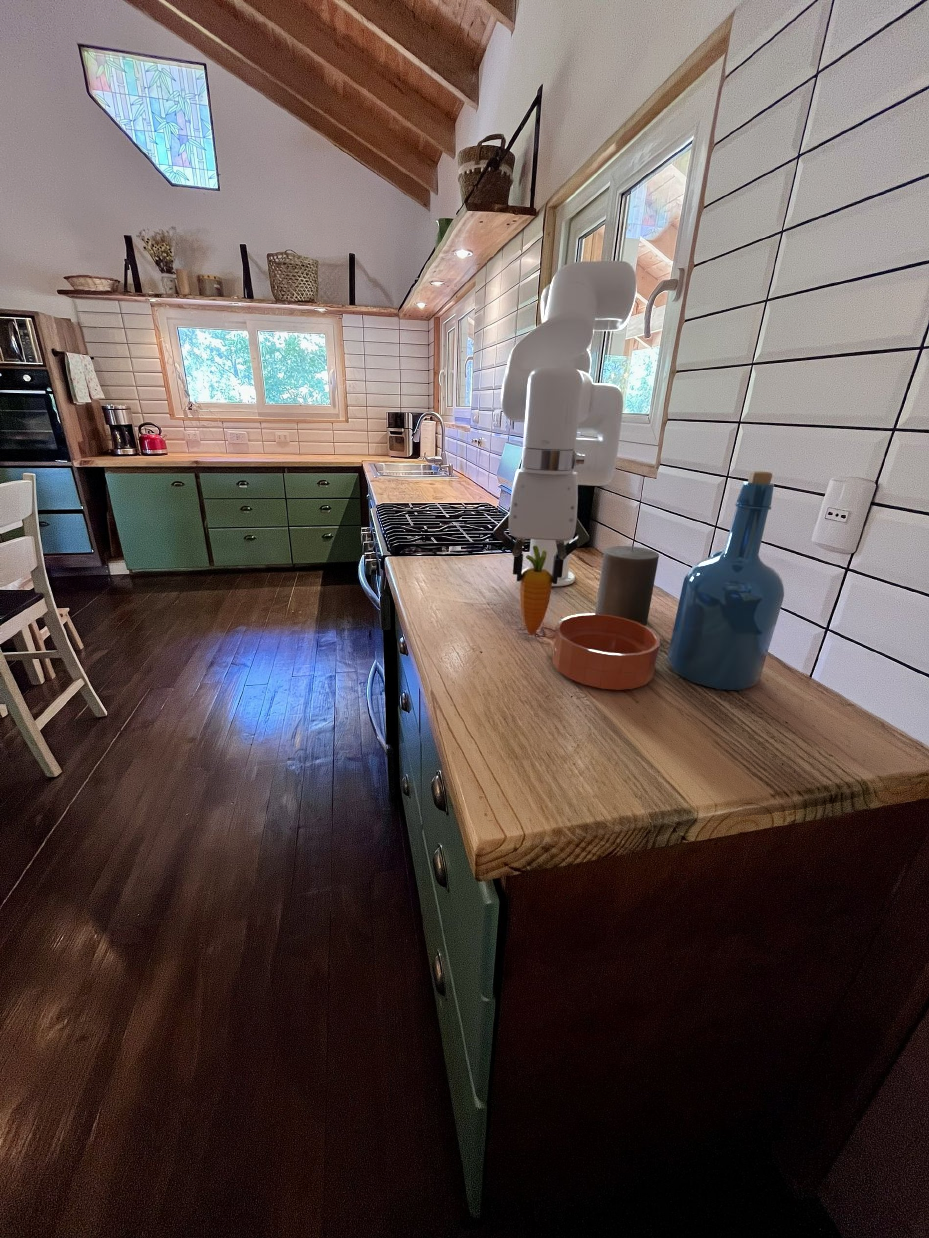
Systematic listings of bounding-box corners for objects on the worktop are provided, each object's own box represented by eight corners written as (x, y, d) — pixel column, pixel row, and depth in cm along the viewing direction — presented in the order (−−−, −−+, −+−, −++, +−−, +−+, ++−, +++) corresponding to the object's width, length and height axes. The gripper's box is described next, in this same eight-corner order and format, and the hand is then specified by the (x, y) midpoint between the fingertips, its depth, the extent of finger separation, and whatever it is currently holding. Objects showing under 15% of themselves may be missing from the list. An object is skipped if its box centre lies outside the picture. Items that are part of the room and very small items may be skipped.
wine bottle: (769, 701, 70) (837, 481, 58) (668, 684, 73) (714, 473, 61) (748, 659, 82) (801, 470, 70) (663, 646, 85) (700, 464, 74)
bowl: (550, 642, 85) (553, 610, 83) (641, 650, 83) (647, 617, 81) (554, 687, 71) (558, 650, 69) (663, 697, 70) (671, 659, 67)
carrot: (545, 642, 80) (555, 552, 75) (515, 639, 81) (522, 550, 75) (547, 630, 85) (556, 545, 79) (518, 627, 86) (525, 542, 80)
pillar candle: (651, 633, 90) (667, 553, 84) (596, 629, 91) (608, 549, 85) (640, 613, 99) (654, 540, 93) (591, 610, 100) (601, 536, 94)
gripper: (603, 462, 75) (588, 577, 82) (491, 457, 77) (485, 569, 84) (610, 466, 68) (593, 591, 75) (487, 461, 70) (481, 583, 77)
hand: (536, 579), depth 79 cm, fingers closed on carrot, 5 cm apart
